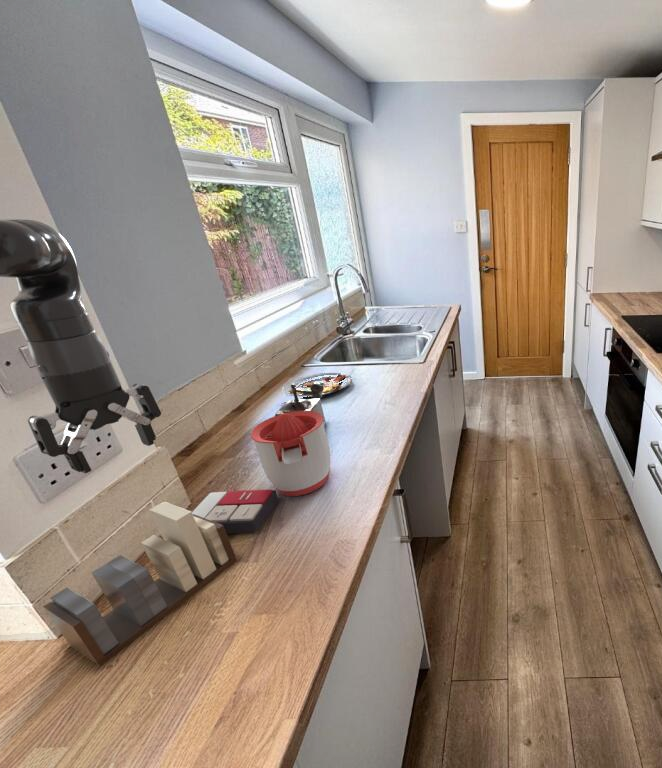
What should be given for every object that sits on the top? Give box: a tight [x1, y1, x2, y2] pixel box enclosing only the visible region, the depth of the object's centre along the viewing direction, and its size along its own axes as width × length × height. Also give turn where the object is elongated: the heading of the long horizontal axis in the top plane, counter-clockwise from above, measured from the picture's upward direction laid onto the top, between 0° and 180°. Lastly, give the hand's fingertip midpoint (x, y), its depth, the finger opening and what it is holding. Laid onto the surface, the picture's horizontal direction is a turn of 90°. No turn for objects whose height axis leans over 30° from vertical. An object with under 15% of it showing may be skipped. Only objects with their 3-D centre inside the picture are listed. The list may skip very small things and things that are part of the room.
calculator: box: [191, 489, 279, 535], centre depth 91 cm, size 11×4×15 cm
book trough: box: [42, 514, 238, 667], centre depth 71 cm, size 9×22×10 cm, turn 157°
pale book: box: [149, 501, 216, 579], centre depth 75 cm, size 8×2×14 cm, turn 67°
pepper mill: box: [274, 382, 327, 428], centre depth 124 cm, size 16×11×18 cm
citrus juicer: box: [250, 411, 331, 497], centre depth 99 cm, size 16×17×20 cm
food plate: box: [281, 372, 353, 398], centre depth 159 cm, size 25×23×4 cm
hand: (118, 457), depth 66 cm, fingers open, 8 cm apart
